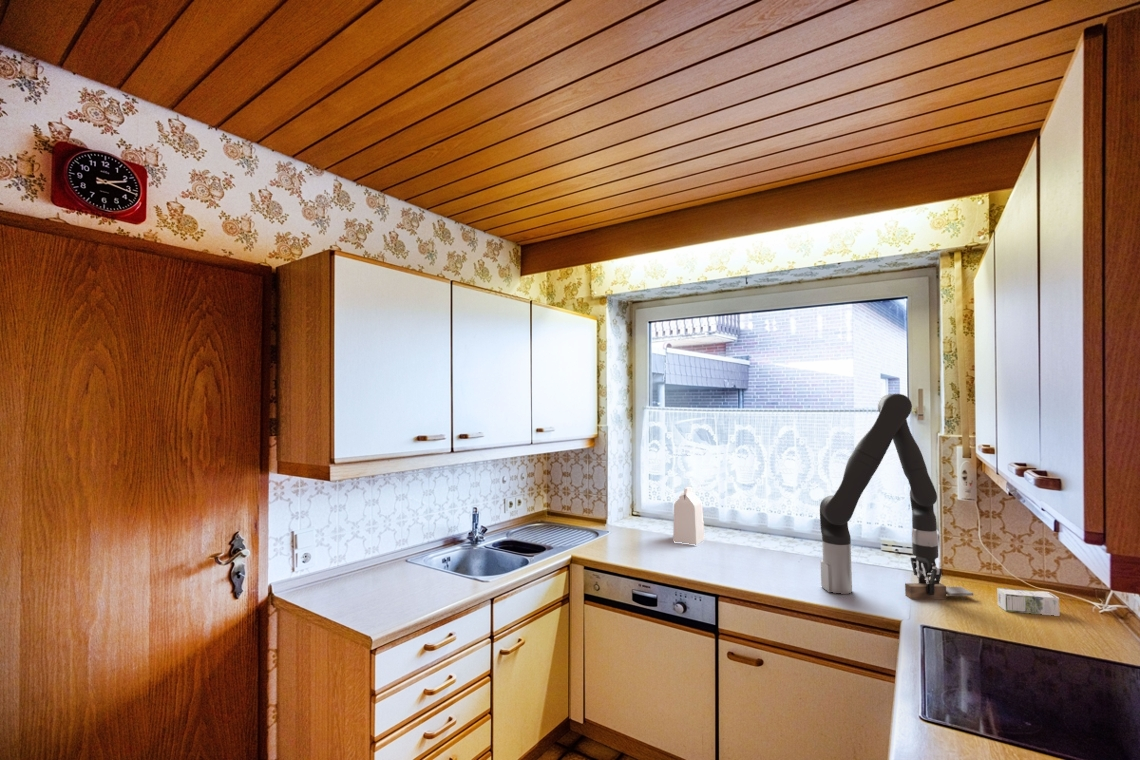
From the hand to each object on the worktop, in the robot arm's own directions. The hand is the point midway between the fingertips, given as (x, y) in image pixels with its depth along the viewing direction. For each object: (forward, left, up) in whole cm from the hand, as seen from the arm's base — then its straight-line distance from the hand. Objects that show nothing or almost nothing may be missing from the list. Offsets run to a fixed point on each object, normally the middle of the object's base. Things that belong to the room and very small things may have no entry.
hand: (926, 592), depth 183 cm
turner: (+4, 0, -2) cm, 4 cm away
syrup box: (+18, -10, +1) cm, 20 cm away
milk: (-68, +71, -2) cm, 98 cm away
